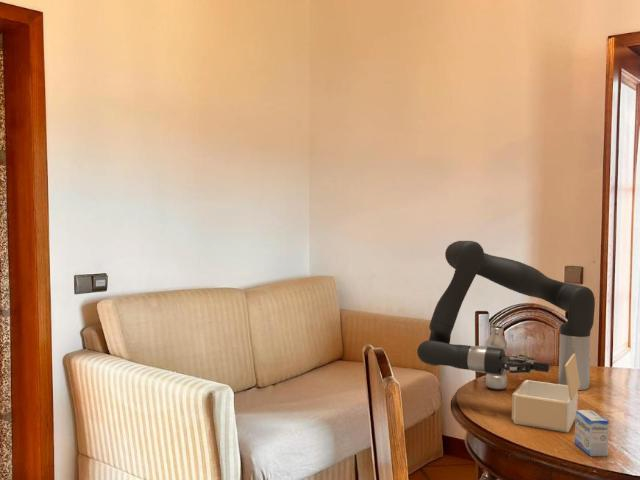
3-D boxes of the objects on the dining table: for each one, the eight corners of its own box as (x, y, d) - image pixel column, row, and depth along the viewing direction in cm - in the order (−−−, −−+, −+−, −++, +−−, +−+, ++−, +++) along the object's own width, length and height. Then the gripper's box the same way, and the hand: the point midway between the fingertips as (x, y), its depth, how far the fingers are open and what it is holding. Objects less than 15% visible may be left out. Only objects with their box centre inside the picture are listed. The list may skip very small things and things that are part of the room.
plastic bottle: (508, 392, 200) (509, 329, 198) (485, 390, 201) (487, 328, 200) (506, 386, 206) (507, 325, 205) (484, 385, 207) (485, 324, 206)
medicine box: (574, 444, 157) (574, 409, 157) (591, 443, 157) (592, 409, 157) (590, 456, 149) (591, 420, 149) (608, 456, 150) (609, 420, 149)
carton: (524, 405, 186) (525, 379, 186) (577, 414, 179) (578, 386, 178) (510, 423, 171) (511, 394, 171) (567, 433, 164) (568, 403, 164)
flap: (573, 353, 178) (575, 353, 177) (578, 385, 177) (580, 385, 177) (564, 365, 165) (566, 365, 164) (570, 400, 164) (572, 400, 164)
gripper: (480, 351, 177) (544, 359, 168) (492, 342, 188) (553, 349, 179) (479, 378, 177) (544, 387, 168) (492, 367, 188) (553, 375, 180)
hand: (549, 367), depth 174 cm, fingers closed
